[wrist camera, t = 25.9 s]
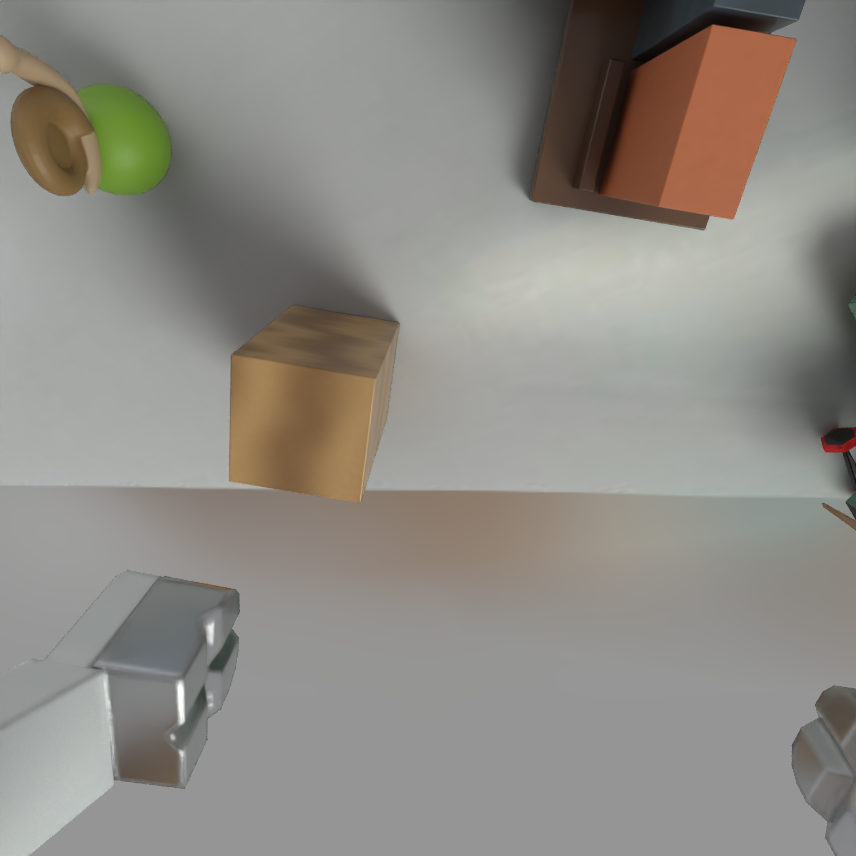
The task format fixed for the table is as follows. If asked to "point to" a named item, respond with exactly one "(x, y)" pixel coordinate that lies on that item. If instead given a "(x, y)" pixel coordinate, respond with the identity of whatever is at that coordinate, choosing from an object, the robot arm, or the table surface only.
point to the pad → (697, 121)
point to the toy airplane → (844, 454)
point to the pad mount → (622, 89)
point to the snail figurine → (83, 132)
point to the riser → (311, 402)
